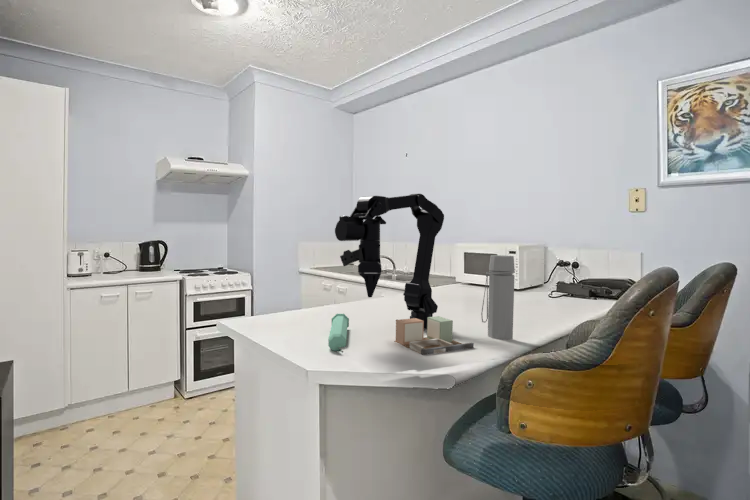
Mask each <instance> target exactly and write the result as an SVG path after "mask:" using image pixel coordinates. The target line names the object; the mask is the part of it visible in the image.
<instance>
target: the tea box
mask: <svg viewBox="0 0 750 500" xmlns="http://www.w3.org/2000/svg"><path fill="white" fill-rule="evenodd" d="M453 324H454V321H453V319H449V318H446V317H443V316H439V315H436V316H433V317H427V329H426V337H427V338H428V339H442V340H444V341H447V342H452V340H453V331H454V329H453V326H454V325H453Z"/></svg>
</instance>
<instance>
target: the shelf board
mask: <svg viewBox="0 0 750 500" xmlns="http://www.w3.org/2000/svg"><path fill="white" fill-rule="evenodd" d="M393 342H394V343H395V344H396V343H397V344H398V345H401V346H403V347H405V348H408V349H409V350H412V351H413V352H415V353H417V354H420V355H422V356H425V355H426V356H427V355H436V354H440V353H447V352H455V351H461V350H468V349H474V346H475V343H474V342H466V343H462V342H459V341H456V340H455V339H454V340H453V339H452V342H447V341H444V340H442V339H428V338H427V336H426V337H425V336H424V337H423V340H421V341H412V342H410V344H407V345H402V344H400V343H398V342H396V340H394V341H393Z"/></svg>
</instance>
